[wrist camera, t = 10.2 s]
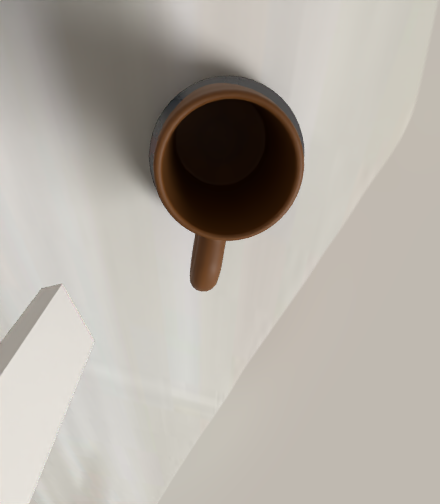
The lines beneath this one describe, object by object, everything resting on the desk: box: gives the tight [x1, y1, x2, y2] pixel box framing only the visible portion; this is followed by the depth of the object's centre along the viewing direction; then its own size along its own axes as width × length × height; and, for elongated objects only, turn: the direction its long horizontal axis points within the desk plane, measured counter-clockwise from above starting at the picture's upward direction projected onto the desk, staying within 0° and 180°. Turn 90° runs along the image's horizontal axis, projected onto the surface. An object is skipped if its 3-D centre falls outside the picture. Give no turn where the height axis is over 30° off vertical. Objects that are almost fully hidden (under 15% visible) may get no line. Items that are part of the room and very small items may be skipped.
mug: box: [153, 83, 304, 291], centre depth 21 cm, size 12×8×9 cm, turn 168°
